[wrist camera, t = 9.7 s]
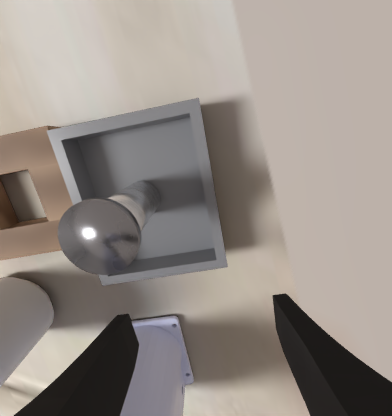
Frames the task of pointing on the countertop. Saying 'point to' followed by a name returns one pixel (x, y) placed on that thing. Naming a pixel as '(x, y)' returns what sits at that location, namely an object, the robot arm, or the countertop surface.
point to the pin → (108, 228)
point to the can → (21, 321)
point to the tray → (154, 173)
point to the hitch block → (46, 189)
